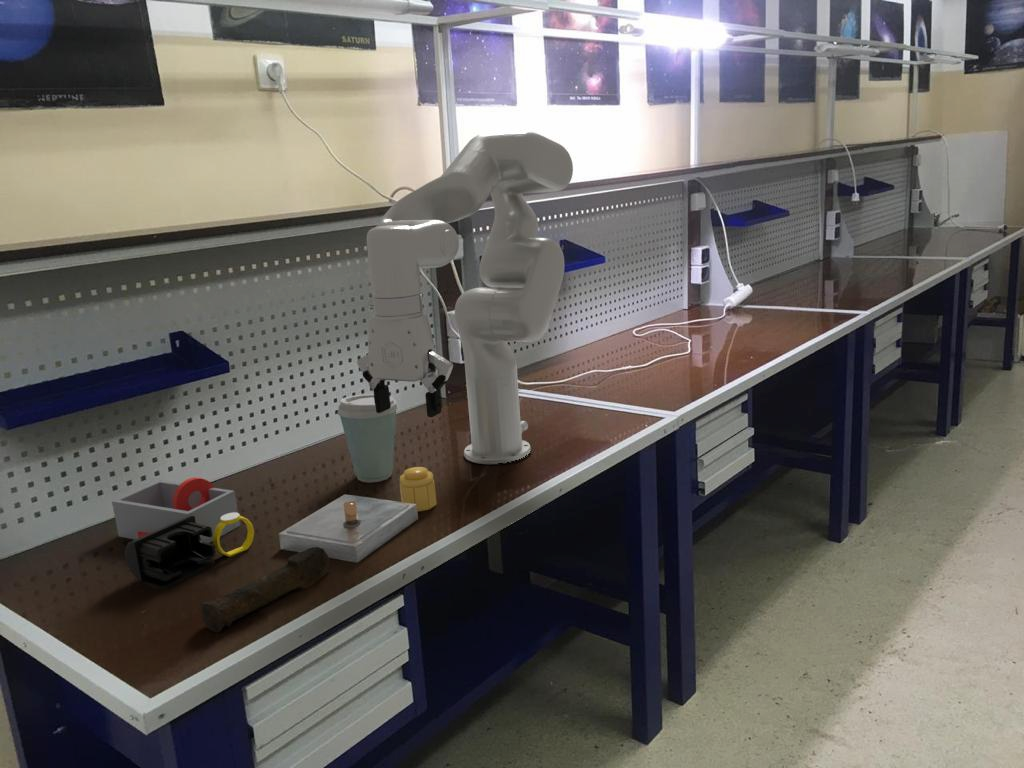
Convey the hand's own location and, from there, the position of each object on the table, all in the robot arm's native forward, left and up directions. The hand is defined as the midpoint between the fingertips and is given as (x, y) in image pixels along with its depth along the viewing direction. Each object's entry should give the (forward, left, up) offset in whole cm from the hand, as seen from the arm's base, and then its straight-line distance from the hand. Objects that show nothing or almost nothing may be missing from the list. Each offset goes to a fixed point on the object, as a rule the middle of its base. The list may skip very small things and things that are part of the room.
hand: (408, 412), depth 138 cm
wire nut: (0, 0, -16) cm, 16 cm away
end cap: (+32, -21, -16) cm, 41 cm away
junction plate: (+13, -4, -16) cm, 21 cm away
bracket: (+21, -32, -16) cm, 41 cm away
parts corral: (+21, -32, -16) cm, 41 cm away
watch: (+24, -17, -16) cm, 33 cm away
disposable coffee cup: (-9, -15, -16) cm, 24 cm away
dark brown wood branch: (+33, -2, -16) cm, 37 cm away
